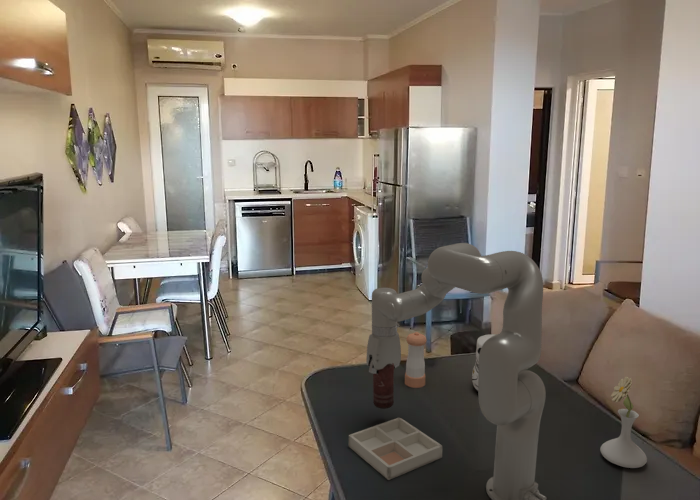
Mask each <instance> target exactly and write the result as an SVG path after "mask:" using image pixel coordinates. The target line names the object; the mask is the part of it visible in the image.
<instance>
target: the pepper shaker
mask: <svg viewBox="0 0 700 500" xmlns="http://www.w3.org/2000/svg"><path fill="white" fill-rule="evenodd" d="M405 339H406V343H407V344H408V350H407V351H408V352H407V359H406V364H405V373H404V385H405V386H407V387H409V388H412V389H413V388H414V389H418V388H423V387H424V386H426V372H425V371H426V369H425V368H426V365H425V364H426V363H425V357H424V356H425V344H426V343H427V341H428V340H427V337H426V336H425V335H424V334H422V333H420V332H418V331H415V332H411V333H409V334H408V335H407V336H406V338H405Z"/></svg>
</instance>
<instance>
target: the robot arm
mask: <svg viewBox="0 0 700 500" xmlns="http://www.w3.org/2000/svg"><path fill="white" fill-rule="evenodd" d="M420 276H421V282H422V284H421V285H420V286H418V287H417V288H415V289H412V290H408V291H404V292H400V293H397V291H396V290H395V289H394V288H392V287H378V288H375V289H373V291H372V292H371V334H369V336H368V339H367V346H366V347H367V348H366V366H369V368H368V373H370V374H371V375H373V374H378V373H379V371H378V370H380V369H383V368H384V367H385V366H386V365H387V364H392V363H393V364H394V369H396V368H398V367H400V363H401V361H402V360H401V359H402V349H401V348H402V346H401V345H402V344H401V338H400V335H399V332H398V328H400V323H399V322H403V321H406V320H409V319H412V318H415V317H419V316H422V315H425V314H427V313H428V312H429V311H432V309H434V308H436V306H439V304H441V303H442V302H443V301H444V299H445V298H446V295H447V294H448V293H450V292H451V291H452V290H453V289H455V288H457V289H461V290H463V291H468V292H471V293H475V294H479V295H485V294H486V295H487V294H492V293H495V292H498V291H501V290H504V289H507V290H508V292H507V295H506V298H505V301H504V303H503V304H504V305H503V311H502V318H503V319H502V328H501V332H499V333H497V335H495V336H492V337H491V338H489V339H488V340H486V342H485V343H484V344H483V346H482V348H481V350H480V354H479V373H478V391H477V392H478V393H477V394H478V395H477V396H478V397H477V398H478V403H479V407H480V410H481V411H480V412H481V413H482V415H483V416H484V418H485V419H486V420H487V421H488V422H490V423H491V424H492V425H496V434H495V436H496V437H495V448H494V462H493V463H494V465H493V476H491V477H490V478H489V479H488V480H487V482H486V484H485V488H486V489H485V490H486V493H487V496H488V497H489V499H491V500H547V496H545V495H543V494H542V493H540V490H539V483H537V481H535V478H536V467H537V456H538V446H539V445H538V443H539V436H540V435H539V434H540V425H541V419H542V415H543V412H544V411H543V410H544V407H545V405H546V404H545V403H546V395H547V394H546V386H545V384H544V381H543V379H542V378H541V377H540V376H539V375H538V374H537V373H535V372H533V371H532V370H528V369H530V368H531V367H533V366H534V365H536V364H537V363H538V362H539V361H540V359H541V355H542V332H543V331H542V330H543V328H542V327H543V315H542V314H543V312H542V311H543V298H544V278H543V275H542V272H541V270H540V268H539V266H538V264H537V263H536V262H535V261H534V260H533V259H532V258H531V257H530V256H528V255H527V254H525V253H523V252H520V251H517V250H505V251H503V250H502V251H499V252H494V253H491V254H486V255H482V254H481V252H480V250H479V249H478V248H477V247H476V246H475V245H473V244H471V243H468V242H459V243H453V244H449V245H444V246H439V247H438V248H436V249H434V250H433V251H432V252H431V253H430V255H429V256H428V260H427V267H426V268H424V269H423V271H422V273H421V275H420Z"/></svg>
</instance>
